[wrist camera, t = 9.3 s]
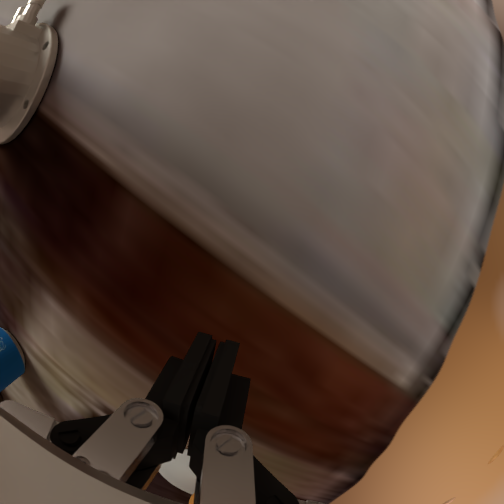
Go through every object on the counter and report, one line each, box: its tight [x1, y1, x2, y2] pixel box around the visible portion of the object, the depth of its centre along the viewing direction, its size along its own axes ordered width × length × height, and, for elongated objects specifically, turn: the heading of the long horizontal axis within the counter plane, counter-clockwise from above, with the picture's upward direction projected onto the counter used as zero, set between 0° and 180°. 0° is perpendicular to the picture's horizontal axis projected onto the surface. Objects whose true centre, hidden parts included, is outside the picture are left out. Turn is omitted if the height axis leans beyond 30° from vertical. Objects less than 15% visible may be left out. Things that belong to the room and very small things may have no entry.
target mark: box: [159, 449, 196, 495], centre depth 23 cm, size 12×12×1 cm
